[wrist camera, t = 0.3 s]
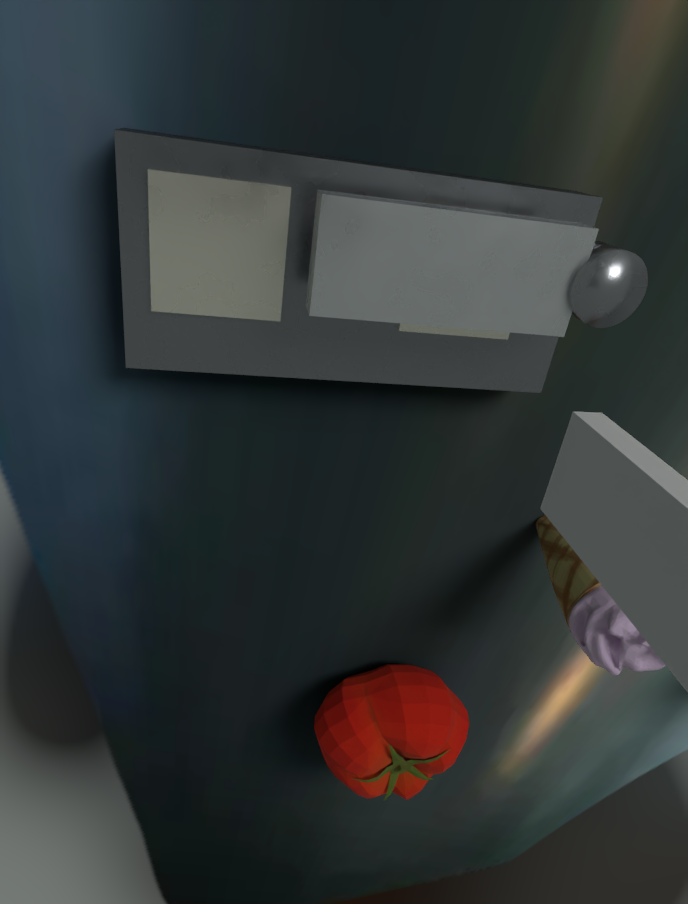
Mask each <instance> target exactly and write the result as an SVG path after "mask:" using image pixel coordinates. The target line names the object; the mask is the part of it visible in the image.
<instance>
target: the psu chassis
mask: <svg viewBox="0 0 688 904" xmlns="http://www.w3.org/2000/svg"><path fill="white" fill-rule="evenodd" d="M114 137H115V158H116V178H117V198H118V219H119V239H120V260H121V280H122V300H123V321H124V341H125V362H126V368H137V369H153V370H170V371H187V372H203V373H220V374H236V375H253V376H270V377H286V378H303V379H319V380H336V381H353V382H369V383H386V384H402V385H419V386H436V387H452V388H469V389H485V390H502V391H519V392H535V393H541V391H542V388H543V384H544V381H545V378H546V375H547V372H548V369H549V366H550V362H551V359H552V356H553V353H554V350H555V347H556V344H557V340H558V337H559V336H547V335H535V334H523V333H511V332H499V331H487V330H475V329H463V328H450V327H438V326H426V325H414V324H402V323H390V322H378V321H366V320H354V319H341V318H329V317H317V316H309V313H308V311H307V308H306V296H307V286H308V276H309V266H310V256H311V247H312V237H313V227H314V217H315V207H316V197H317V189H318V190H326V191H334V192H342V193H350V194H358V195H365V196H373V197H381V198H389V199H397V200H404V201H412V202H420V203H428V204H436V205H444V206H451V207H459V208H467V209H475V210H483V211H491V212H498V213H506V214H514V215H522V216H530V217H538V218H545V219H553V220H561V221H569V222H577V223H582V224H585V225H588V226H591V227H594V224H595V221H596V218H597V215H598V212H599V209H600V206H601V203H602V199H603V198H602V197H598V196H594V195H590V194H586V193H582V192H577V191H571V190H564V189H557V188H549V187H542V186H535V185H528V184H521V183H514V182H507V181H499V180H492V179H485V178H478V177H471V176H464V175H457V174H449V173H442V172H435V171H428V170H421V169H414V168H407V167H399V166H392V165H385V164H378V163H371V162H364V161H357V160H349V159H342V158H335V157H328V156H321V155H314V154H307V153H299V152H292V151H285V150H278V149H271V148H264V147H257V146H249V145H242V144H235V143H228V142H221V141H214V140H207V139H199V138H192V137H185V136H178V135H171V134H164V133H157V132H149V131H142V130H135V129H128V128H121V129H115V130H114Z"/></svg>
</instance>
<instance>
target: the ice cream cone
mask: <svg viewBox="0 0 688 904" xmlns="http://www.w3.org/2000/svg"><path fill="white" fill-rule="evenodd" d="M536 528H537V532H538V535H539V539H540V543H541V547H542V551H543V555H544V558H545V562H546V565H547V569H548V572H549V576H550V579H551V582H552V585H553V588H554V591H555V594H556V596H557V599H558V601H559V604H560V606H561V609H562V611H563V614H564V616H565V619H566V621H567V624H568V626H569V628H570V631H571V633H572V635H573V636H574V638H575V640H576V642H577V644H578V645H579V646H580V647H581V648H582V650H583V651H584V652H585V653H586V654H587V656H588V657H589V659H590V660H591V662H593V663H594V664H595V665H597V666H599V667H602V668H604V669H606V670H607V671H608V672H610V673H611V674H613V675H618V674H619V673H620V672H621V670H622V668H623V667H627V668H629V669H631V670H634V671H647V670H659V669H661V668H663V667H665V666H666V665H665V664H664V663H663V661H662V660H661V659H660V658H659V656H658V655H657V654H656V653H655V651H654V650H653V649H652V648H651V646H650V645H649V644H648V643H647V641H646V640H645V639H644V638H643V636H642V635H641V634H640V633H639V631H638V630H637V629H636V628H635V626H634V625H633V624H632V623H631V621H630V620H629V619H628V618H627V616H626V615H625V614H624V613H623V611H622V610H621V609H620V608H619V606H618V605H617V604H616V603H615V601H614V600H613V599H612V598H611V596H610V595H609V594H608V593H607V591H606V590H605V589H604V588H603V586H602V585H601V584H600V583H599V581H598V580H597V579H596V578H595V576H594V575H593V574H592V573H591V571H590V570H589V569H588V568H587V566H586V565H585V564H584V563H583V561H582V560H581V559H580V558H579V556H578V555H577V554H576V553H575V551H574V550H573V549H572V548H571V546H570V545H569V544H568V543H567V541H566V540H565V539H564V538H563V536H562V535H561V534H560V533H559V531H558V530H557V529H556V528H555V526H554V525H553V524H552V523H551V521H550V520H549V519H548V518H547V516H546V515H544V516H541V517H540V518H539V519H537V521H536Z"/></svg>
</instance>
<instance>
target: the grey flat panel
mask: <svg viewBox="0 0 688 904" xmlns="http://www.w3.org/2000/svg"><path fill="white" fill-rule="evenodd" d="M598 230H599V229H597V228H594V227H591V226H588V225H585V224H582V223H577V222H569V221H561V220H553V219H545V218H538V217H530V216H522V215H514V214H506V213H498V212H491V211H483V210H475V209H467V208H459V207H451V206H444V205H436V204H428V203H420V202H412V201H404V200H397V199H389V198H381V197H373V196H365V195H358V194H350V193H342V192H334V191H326V190H318V189H317V197H316V207H315V217H314V227H313V237H312V247H311V256H310V266H309V276H308V286H307V296H306V308H307V311H308V313H309V316H317V317H329V318H341V319H354V320H366V321H378V322H390V323H402V324H414V325H426V326H438V327H450V328H463V329H475V330H487V331H499V332H511V333H523V334H535V335H547V336H559V337H564V335H565V332H566V329H567V326H568V323H569V320H570V317H571V315H573V316H574V317H576V318H578V319H579V320H581V321H583V322H584V323H586V324H588V325H590V326H593V327H597V328H605V327H610V326H613V325H616V324H618V323H620V322H622V321H623V320H625V319H626V318H628V317H629V316H630V315H631V314H632V313H633V312H634V311H635V310H636V309H637V307H638V306H639V304H640V303H641V301H642V299H643V297H644V295H645V292H646V289H647V284H648V273H647V269H646V266H645V264H644V262H643V261H642V259H641V258H640V257H639V256H638V255H636V254H634V253H632V252H629V251H627V250H624V249H621V248H618V247H615V246H613V245H610V244H607V243H604V242H600V241H595V239H596V236H597V233H598Z"/></svg>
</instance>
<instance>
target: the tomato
mask: <svg viewBox="0 0 688 904" xmlns="http://www.w3.org/2000/svg"><path fill="white" fill-rule="evenodd" d="M468 728H469V719H468V713H467V710H466V708H465V707H464V705H463V704H462V702H461V701H460V700H459V699H458V698H457V697H456V696H455V694H454V693H453V692H452V691H451V690H450V689H449V688H448V687H447V686H446V685H445V684H444V682H443V681H442V679H441V678H440V677H439V676H437V675H436V674H435V673H434V672H433V671H430V670H427V669H423V668H420V667H416V666H413V665H408V664H386V665H384V666H381V667H379V668H376V669H373V670H371V671H368V672H365V673H361V674H357V675H353V676H349V677H347V678H346V679H344V680H343V681H342V682H340V683H339V684H338V685H337V686H335V687H334V688H333V689H332V690H330V691H329V692H328V694H327V695H326V697H325V699H324V701H323V703H322V704H321V706H320V708H319V710H318V712H317V714H316V715H315V723H314V729H315V733H316V736H317V740H318V743H319V746H320V748H321V751H322V754H323V756H324V759H325V761H326V764H327V766H328V767H329V769H330V770H331V771H332V773H333V774H334V775H335V776H336V777H337V778H338V779H339V780H340V781H342V782H343V783H344V784H345V785H346V786H348V787H349V788H350V789H351V790H353V791H354V792H355V793H356V794H357V795H360V796H363V797H365V798H368V799H370V798H373V797H377V796H379V795H382V794H385V793H387V795H386V796H385V798H384V800H385V799H386V798H387V797H388V796H390V795H391V793H392V792H394V793H395V794H397V795H399V796H401V797H403V798H405V799H407V800H408V799H409V798H411V797H413V796H414V795H416V794H417V793H419V792H420V791H421V790H422V789H423V787H424V786H425V784H426V783H427V782H428V780H434V779H432V778H431V776H432V775H433V774H439V773H442V772H444V771H445V770H446V769H448V768H449V767H450V766H452V765H453V764H454V763H455V761H456V759H457V757H458V755H459V753H460V751H461V749H462V747H463V745H464V743H465V741H466V737H467V732H468Z"/></svg>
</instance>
